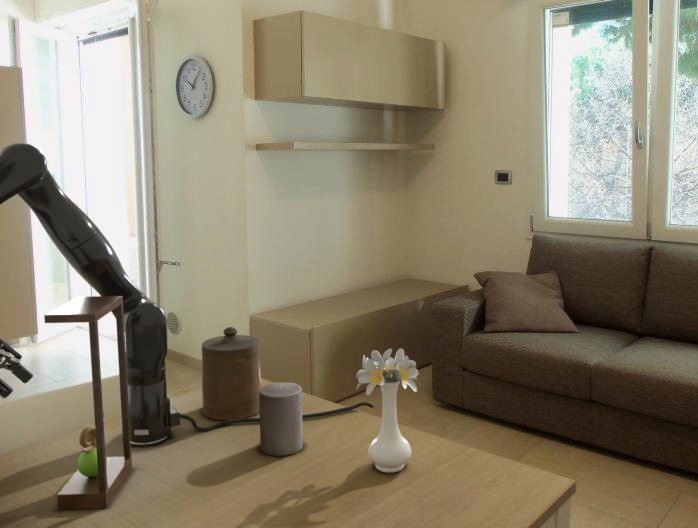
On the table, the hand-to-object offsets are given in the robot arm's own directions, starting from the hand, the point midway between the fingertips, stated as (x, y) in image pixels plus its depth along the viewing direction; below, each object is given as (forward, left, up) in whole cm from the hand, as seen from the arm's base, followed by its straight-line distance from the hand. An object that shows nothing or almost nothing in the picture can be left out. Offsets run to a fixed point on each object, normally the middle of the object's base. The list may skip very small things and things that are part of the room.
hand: (19, 387), depth 135 cm
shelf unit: (-12, +8, -21) cm, 25 cm away
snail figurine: (-11, +8, -18) cm, 23 cm away
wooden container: (-50, -17, -21) cm, 57 cm away
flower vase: (-66, +32, -21) cm, 76 cm away
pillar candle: (-51, +11, -21) cm, 56 cm away
